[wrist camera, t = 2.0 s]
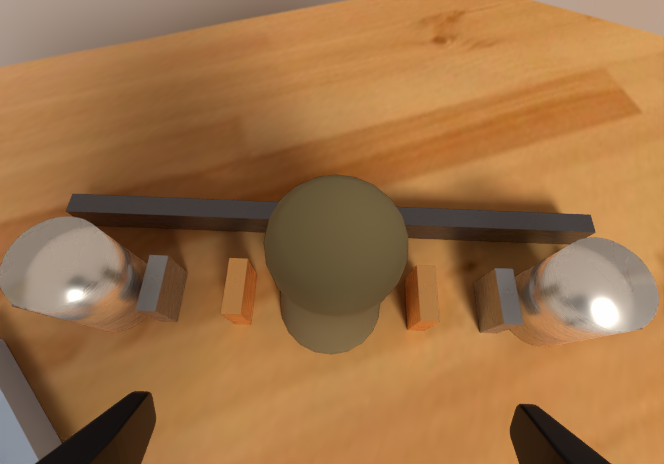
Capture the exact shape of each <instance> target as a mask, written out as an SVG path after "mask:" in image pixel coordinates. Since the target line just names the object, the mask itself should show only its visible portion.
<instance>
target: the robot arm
mask: <svg viewBox="0 0 664 464" xmlns="http://www.w3.org/2000/svg"><path fill="white" fill-rule="evenodd" d="M155 423H156V413H155V408H154V402H153V397H152V394H151V393H150V392H144V391H134V392H132V393H130V394H128V395H127V396H126V397H124V398H123V399H122V400H120V401H119V402H118V403H116V404H115V405H113V406H112V407H111V408H109V409H108V410H107V411H105V412H104V413H103V414H101V415H100V416H99V417H97V418H96V419H94V420H93V421H92V422H90V423H89V424H88V425H86V426H85V427H84V428H82V429H81V430H80V431H78V432H77V433H76V434H74V435H73V436H71V437H70V438H69V439H67V440H66V441H65V442H63V443H62V444H61V445H59V446H58V447H57V448H55V449H54V450H53V451H51V452H50V453H48V454H47V455H46V456H44V457H43V458H42V459H40V460H39V461H38V462H36V463H35V464H141V463H142V460H143V457H144V454H145V452H146V449H147V446H148V444H149V441H150V438H151V435H152V433H153V430H154V427H155ZM510 437H511V440H512V443H513V446H514V449H515V452H516V455H517V458H518V461H519V464H611V463H610V462H608V461H607V460H606V459H605V458H603V457H602V456H601V455H599V454H598V453H597V452H596V451H594V450H593V449H592V448H591V447H589V446H588V445H587V444H585V443H584V442H583V441H582V440H580V439H579V438H578V437H577V436H575V435H574V434H573V433H571V432H570V431H569V430H568V429H566V428H565V427H564V426H563V425H561V424H560V423H559V422H557V421H556V420H555V419H554V418H552V417H551V416H550V415H549V414H547V413H546V412H545V411H543V410H542V409H541V408H540V407H538V406H536V405H534V404H519V405H518V406H517V407H516V409H515V413H514V416H513V419H512V422H511V426H510Z"/></svg>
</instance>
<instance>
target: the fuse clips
mask: <svg viewBox="0 0 664 464" xmlns="http://www.w3.org/2000/svg"><path fill="white" fill-rule="evenodd" d="M278 203H279V202H264V201H239V200H215V199H190V198H165V197H141V196H116V195H91V194H72V197H71V199H70V202H69V204H68V207H67V210H66V212H68V213H69V214H71V215H72V216H74V217H57V218H53V219H49V220H46V221H43V222H41V223H39V224H37V225H35V226H33V227H31V228H30V229H28V230H27V231H25V232H24V233H23V234H22V235H21V236H19V237H18V238H17V239H16V240H15V241H14V243H13V244H12V245H11V246H10V248H9V249H8V251H7V252H6V254H5V256H4V258H3V260H2V263H1V266H0V287H1V290H2V292H3V294H4V296H5V297H6V298H7V299H8V300H9V301H10V302H11V303H12V306H13V307H17V308H20V309H24V310H28V311H32V312H35V313H39V314H43V315H46V316H50V317H56V318H60V319H63V320H67V321H71V322H74V323H78V324H82V325H85V326H89V327H93V328H96V329H100V330H104V331H109V332H118V331H123V330H127V329H129V328H132V327H134V326H135V325H137V324H139V323H140V322H142V321H143V320H144V319H145V318H146V317H147V316H149V317H152V318H154V319H156V320H159V321H173V322H177V320H178V315H179V311H180V306H181V301H182V296H183V291H184V286H185V281H186V277H187V272H186V271H185V270H184V269H183V268H182V267H181V266H180V265H178V264H177V263H176V262H175V261H174V260H173V259H172V258H170V257H169V256H165V255H150V256H149V259H148V263H145V262H144V261H143V260H141V259H140V258H138V257H137V256H136V255H134V254H133V253H132V252H130V251H129V250H127V249H126V248H125V247H123V246H122V245H121V244H119V243H118V242H116V241H115V240H114V239H112V238H111V237H109V236H108V235H107V234H105V233H104V232H103V231H101V230H100V229H98V228H97V227H96V226H115V227H140V228H166V229H191V230H216V231H242V232H266V231H267V227H268V222H269V218H270V216H271V214H272V212H273V211H274V209H275V208H276V206H277V204H278ZM397 209H398V210H399V212H400V213H401V214H402V216H403V220H404V223H405V227H406V230H407V234H408V238H419V239H445V240H470V241H496V242H521V243H546V244H570V245H568V246H567V247H565V248H563V249H562V250H560V251H558V252H556V253H555V254H553V255H551V256H549V257H548V258H546V259H544V260H543V261H541V262H539V263H537V264H536V265H534V266H532V267H531V268H529V269H527V270H525V271H524V272H522V273H520V274H519V275H517V276H515V277H514V272H513V269H505V268H494V269H493V270H491V271H490V272H489V273H487V274H486V275H484V276H483V277H481V278H480V279H479V280H477V281H476V282H474V283H473V284H474V292H475V299H476V306H477V314H478V321H479V328H480V333H499V332H502V331H505V330H508V329H510V331H511V332H512V333H513V334H514V335H516V336H517V337H518V338H519V339H521V340H522V341H524V342H526V343H528V344H531V345H534V346H538V347H550V346H555V345H560V344H566V343H571V342H576V341H582V340H587V339H592V338H597V337H603V336H608V335H613V334H619V333H624V332H629V331H635V330H639V329H642V328H643V327H644V326H646V325H647V324H648V323H650V322H651V320H652V319H653V318H654V316H655V314H656V312H657V309H658V303H659V295H658V289H657V286H656V283H655V280H654V278H653V276H652V274H651V272H650V271H649V269H648V268H647V266H646V265H645V264H644V263H643V262H642V260H641V259H640V258H638V257H637V256H636V255H635V254H634V253H633V252H632V251H630V250H629V249H627V248H626V247H624V246H622V245H620V244H618V243H616V242H614V241H611V240H608V239H603V238H595V237H594V238H587V237H588V236H590V235H592V234H594V233H595V229H594V225H593V222H592V218H591V215H584V214H559V213H535V212H510V211H486V210H461V209H436V208H412V207H397ZM256 279H257V274H256V272H255V270H254V269H253V267H252V265H251V263H250V261H249V260H248V259H244V258H229V264H228V270H227V277H226V283H225V289H224V296H223V302H222V308H221V314H222V315H223V316H224V317H226V318H227V319H228V320H230V321H231V322H232V323H234V324H251V321H252V312H253V304H254V296H255V288H256ZM405 292H406V311H407V329H408V330H426V329H428V328H430V327H431V326H433V325H435V324H437V323H438V322H440V315H439V304H438V293H437V283H436V272H435V266H426V265H416V267H415V268H414V269H413V271H412V272H411V273H410V275H409V276H408V277H407V278H406V280H405Z"/></svg>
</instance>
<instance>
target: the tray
mask: <svg viewBox="0 0 664 464" xmlns="http://www.w3.org/2000/svg"><path fill="white" fill-rule="evenodd" d="M61 444H62V442H61V441H60V439H59V437H58V435H57V434H56V432H55V430H54V428H53V426H52V425H51V423H50V421H49V419H48V418H47V416H46V414H45V412H44V410H43V409H42V407H41V405H40V403H39V402H38V400H37V398H36V396H35V394H34V393H33V391H32V389H31V387H30V386H29V384H28V382H27V380H26V378H25V377H24V375H23V373H22V371H21V370H20V368H19V366H18V364H17V362H16V361H15V359H14V357H13V355H12V354H11V352H10V350H9V348H8V347H7V345H6V343H5V341H4V340H3V339H0V464H35V463H36V462H38V461H39V460H40V459H42V458H43V457H44V456H46V455H47V454H48V453H50V452H51V451H53V450H54V449H55V448H57V447H58V446H59V445H61Z"/></svg>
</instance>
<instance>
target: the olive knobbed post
mask: <svg viewBox="0 0 664 464" xmlns="http://www.w3.org/2000/svg"><path fill="white" fill-rule="evenodd" d="M264 249H265V258H266V265H267V267H268V269H269V271H270V273H271V275H272V277H273V279H274V281H275V283H276V285H277V287H278V289H279V290H280V291H281V300H280V305H281V313H282V319H283V321H284V323H285V325H286V328H287V330H288V332H289V333H290V334H291V335H292V336H293V337H294V338H295V340H296V341H297V342H298V343H299V344H300V345H302V346H304V347H306V348H308V349H310V350H312V351H314V352H318V353H325V354H337V353H342V352H347V351H349V350H351V349H353V348H355V347H356V346H358V345H360V344H362V343H363V342H364V340H365V339H366V338H367V337H368V336H369V335H370V334H371V333H372V331H373V329H374V327H375V324H376V322H377V320H378V317H379V309H380V303H381V302H382V301H383V300H384V299H385V297H386V296H387V295H388V294H389V293H390V292H391V291H392V290H393V289H394V288H395V286H396V285H397V284H398V283H399V281H400V278H401V276H402V273H403V271H404V269H405V266H406V264H407V255H408V234H407V230H406V227H405V223H404V220H403V216H402V214H401V213H400V212H399V210H398V209H397V207H396V206H395V204H394V203H393V201H392V200H391V199H390V198H389V197H388V196H387V195H385V194H384V193H383V192H382V191H380V190H379V189H378V188H377V187H376V186H374V185H373V184H370V183H368V182H365V181H363V180H361V179H358V178H356V177H351V176H343V175H329V176H322V177H316V178H314V179H312V180H309V181H307V182H305V183H302V184H300V185H298V186H296V187H295V188H293V189H292V190H291V191H290V192H289V193H288V194H286V195H285V196H284V197H283V198H282V199H281V200H280V201H279V203H278V204H277V206H276V208H275V209H274V211H273V212H272V214H271V216H270V218H269V222H268V227H267V231H266V235H265V239H264Z"/></svg>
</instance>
